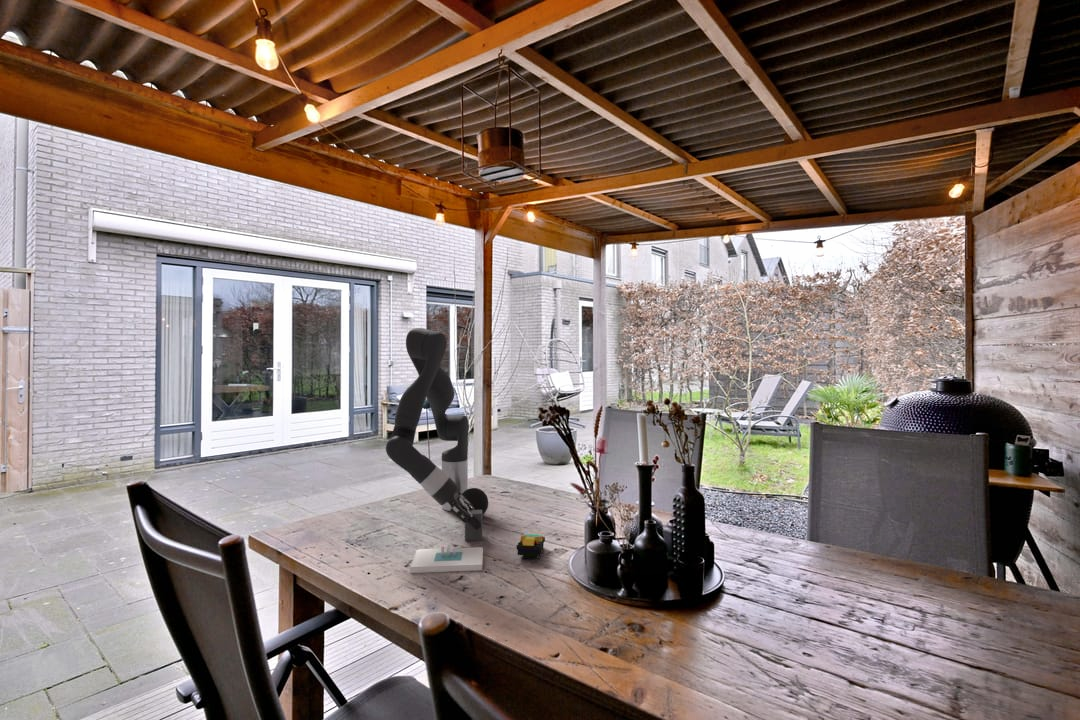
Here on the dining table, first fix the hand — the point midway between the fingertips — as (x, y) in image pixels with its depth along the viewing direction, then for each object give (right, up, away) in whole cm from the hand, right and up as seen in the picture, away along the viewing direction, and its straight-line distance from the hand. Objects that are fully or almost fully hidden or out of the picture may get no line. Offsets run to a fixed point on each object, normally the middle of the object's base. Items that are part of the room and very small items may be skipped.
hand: (479, 524), depth 158 cm
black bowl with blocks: (+16, -5, -12) cm, 21 cm away
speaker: (-4, -4, +20) cm, 20 cm away
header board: (-6, -5, -18) cm, 20 cm away
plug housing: (-2, -4, 0) cm, 5 cm away
